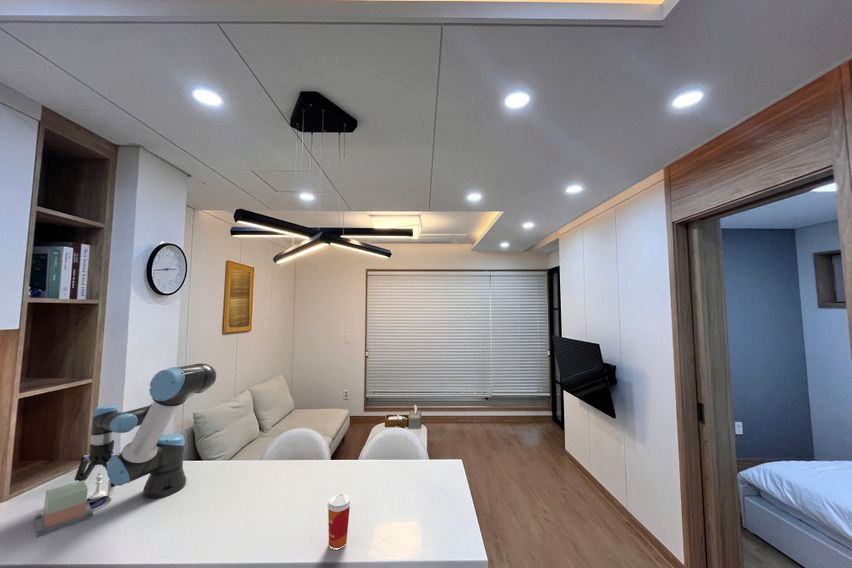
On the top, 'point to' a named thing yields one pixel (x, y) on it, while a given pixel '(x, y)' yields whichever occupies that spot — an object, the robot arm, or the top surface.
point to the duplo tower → (63, 508)
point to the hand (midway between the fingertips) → (97, 495)
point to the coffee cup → (338, 520)
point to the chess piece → (98, 488)
